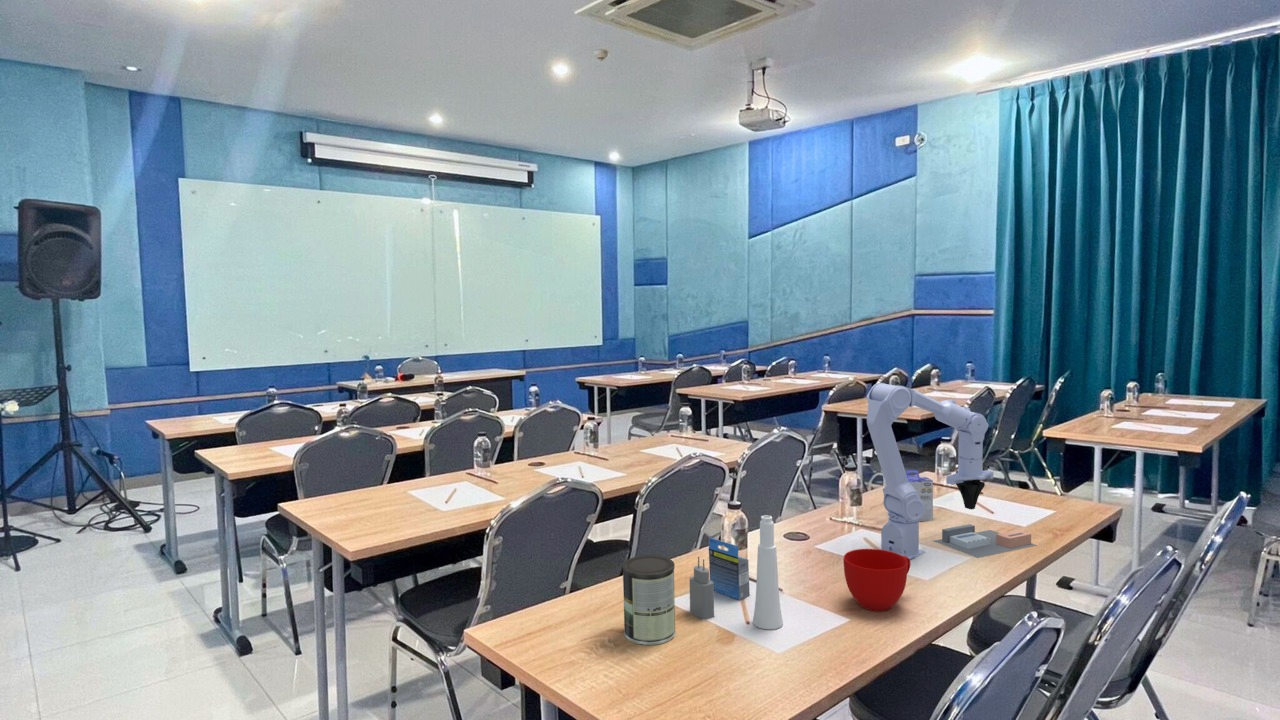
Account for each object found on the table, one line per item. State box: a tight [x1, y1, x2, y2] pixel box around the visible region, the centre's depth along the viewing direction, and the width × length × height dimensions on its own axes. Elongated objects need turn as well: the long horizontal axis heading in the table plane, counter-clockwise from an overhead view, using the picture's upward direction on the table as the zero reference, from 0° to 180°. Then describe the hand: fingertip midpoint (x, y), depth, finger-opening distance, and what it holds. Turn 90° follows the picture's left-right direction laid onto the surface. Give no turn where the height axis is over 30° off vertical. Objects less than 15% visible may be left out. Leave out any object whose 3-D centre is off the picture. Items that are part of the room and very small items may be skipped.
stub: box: [996, 529, 1032, 548], centre depth 184 cm, size 8×4×3 cm, turn 113°
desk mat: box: [933, 529, 1038, 559], centre depth 186 cm, size 21×14×1 cm
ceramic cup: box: [843, 548, 911, 612], centre depth 151 cm, size 13×17×10 cm
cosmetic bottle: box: [752, 514, 784, 630], centre depth 141 cm, size 6×6×22 cm
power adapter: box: [689, 556, 715, 621], centre depth 147 cm, size 3×5×12 cm, turn 30°
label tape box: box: [708, 536, 751, 601], centre depth 157 cm, size 9×4×12 cm, turn 43°
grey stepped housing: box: [941, 524, 990, 549], centre depth 186 cm, size 10×8×3 cm
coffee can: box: [621, 554, 676, 646], centre depth 138 cm, size 10×10×14 cm
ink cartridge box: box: [905, 469, 934, 522], centre depth 208 cm, size 10×6×14 cm, turn 89°
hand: (969, 508), depth 185 cm, fingers closed
